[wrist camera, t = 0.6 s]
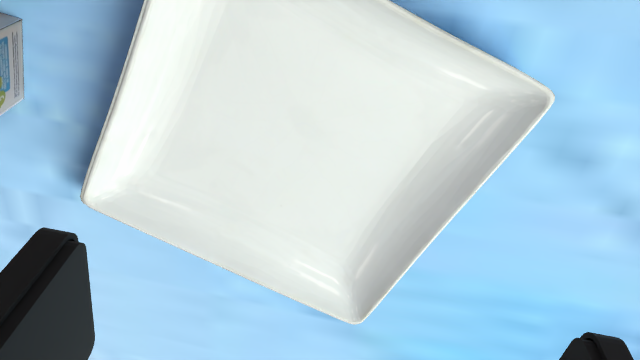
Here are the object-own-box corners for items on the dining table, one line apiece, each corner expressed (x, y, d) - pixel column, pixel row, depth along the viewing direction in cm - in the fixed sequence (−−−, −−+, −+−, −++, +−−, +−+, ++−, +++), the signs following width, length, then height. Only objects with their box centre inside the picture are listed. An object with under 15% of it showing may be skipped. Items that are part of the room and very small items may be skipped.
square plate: (199, -131, 32) (180, -129, 29) (548, 77, 37) (565, 98, 34) (93, 182, 46) (71, 207, 43) (359, 302, 51) (358, 333, 48)
